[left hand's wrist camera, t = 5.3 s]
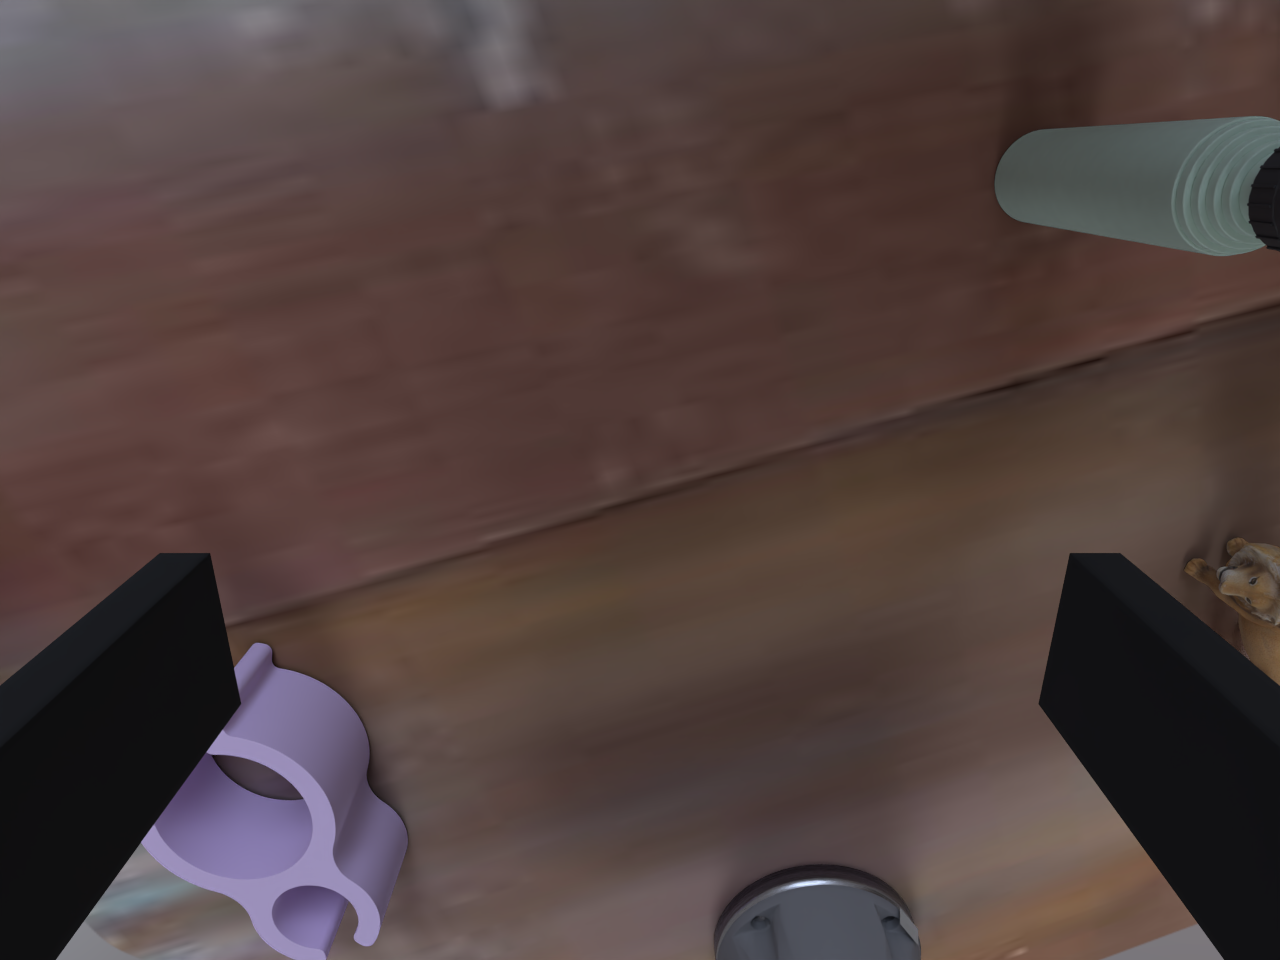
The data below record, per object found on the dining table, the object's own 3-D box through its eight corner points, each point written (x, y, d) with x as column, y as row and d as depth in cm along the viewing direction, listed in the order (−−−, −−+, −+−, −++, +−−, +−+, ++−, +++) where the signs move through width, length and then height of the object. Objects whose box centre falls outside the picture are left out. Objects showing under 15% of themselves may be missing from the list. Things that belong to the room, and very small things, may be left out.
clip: (450, 842, 60) (427, 924, 54) (306, 898, 62) (267, 983, 56) (292, 626, 54) (245, 690, 47) (137, 696, 56) (71, 767, 49)
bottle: (979, 162, 44) (1235, 168, 25) (1063, 110, 43) (1393, 76, 24) (1015, 239, 45) (1282, 300, 26) (1096, 191, 44) (1433, 217, 26)
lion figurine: (1146, 522, 51) (1245, 595, 43) (1233, 486, 50) (1352, 552, 42) (1203, 700, 56) (1302, 796, 48) (1284, 670, 55) (1399, 762, 47)
